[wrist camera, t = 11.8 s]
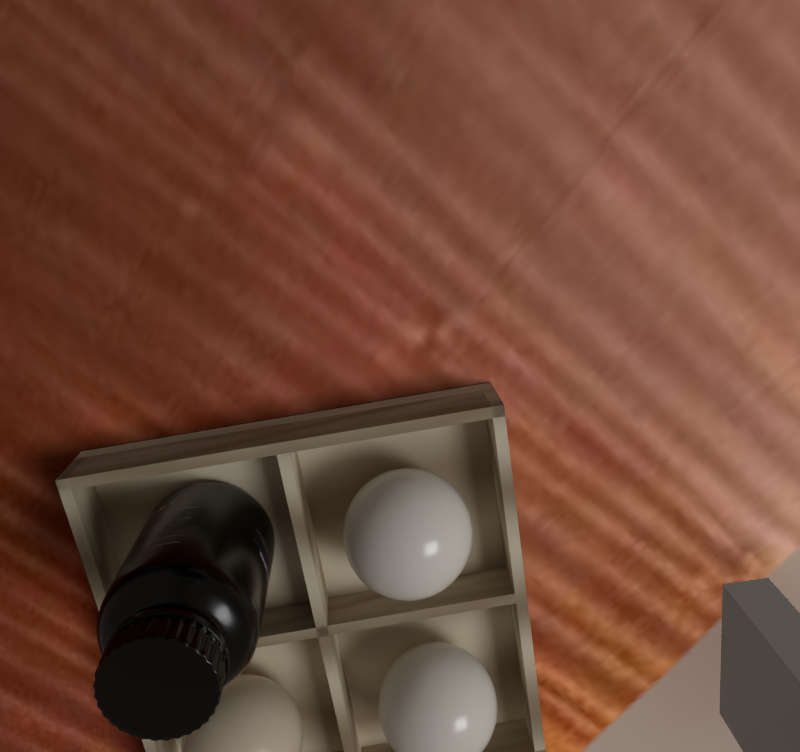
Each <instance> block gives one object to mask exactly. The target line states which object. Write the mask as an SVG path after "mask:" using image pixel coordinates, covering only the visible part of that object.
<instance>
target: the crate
mask: <svg viewBox="0 0 800 752" xmlns="http://www.w3.org/2000/svg"><path fill="white" fill-rule="evenodd" d="M402 468H414V469H421V470H424V471H428V472H430V473H433V474H435V475H437V476H439V477H440V478H442V479H444V480H445V481H447V482H448V483H449V484H450V485H451V486H452V487H453V488H454V489H455V490H456V491H457V492H458V493H459V495H460V496H461V497H462V499H463V501H464V503H465V505H466V507H467V509H468V512H469V514H470V518H471V523H472V531H473V537H472V547H471V551H470V555H469V558H468V560H467V563H466V565H465V567H464V569H463V570H462V572H461V573H460V574H459V576H458V577H457V578H456V580H455V581H454V582H453V583H452V584H451V585H449V586H448V587H447V588H446V589H444V590H443V591H441V592H439V593H437V594H435V595H433V596H431V597H428V598H425V599H421V600H414V601H402V600H395V599H391V598H388V597H385V596H382V595H380V594H378V593H376V592H375V591H373V590H372V589H370V588H369V587H368V586H366V585H365V584H364V583H363V582H362V581H361V580H360V579H359V577H358V576H357V575H356V574H355V572H354V571H353V569H352V567H351V565H350V563H349V561H348V559H347V556H346V553H345V549H344V542H343V527H344V521H345V516H346V513H347V510H348V508H349V506H350V504H351V502H352V500H353V498H354V497H355V495H356V494H357V493H358V491H359V490H360V489H361V488H362V487H363V486H364V485H365V484H366V483H368V482H369V481H370V480H372V479H373V478H375V477H376V476H378V475H380V474H382V473H385V472H388V471H391V470H395V469H402ZM55 482H56V485H57V488H58V491H59V494H60V497H61V500H62V503H63V506H64V509H65V512H66V515H67V518H68V521H69V524H70V527H71V530H72V533H73V536H74V539H75V542H76V545H77V548H78V551H79V554H80V557H81V560H82V563H83V566H84V569H85V572H86V575H87V578H88V581H89V584H90V587H91V590H92V593H93V596H94V599H95V602H96V605H97V608H98V611H99V610H100V607H101V604H102V602H103V600H104V597H105V595H106V593H107V591H108V589H109V588H110V586H111V584H112V582H113V580H114V578H115V577H116V575H117V573H118V571H119V569H120V568H121V566H122V564H123V562H124V560H125V559H126V557H127V555H128V553H129V551H130V550H131V548H132V546H133V544H134V542H135V541H136V539H137V537H138V535H139V533H140V532H141V530H142V528H143V526H144V525H145V523H146V521H147V519H148V518H149V516H150V515H151V513H152V511H153V510H154V508H155V507H156V506H157V505H158V503H159V502H160V501H161V500H162V499H163V498H165V497H166V496H167V495H168V494H170V493H171V492H173V491H175V490H177V489H179V488H181V487H183V486H186V485H189V484H193V483H199V482H219V483H224V484H228V485H232V486H234V487H237V488H239V489H241V490H243V491H245V492H246V493H248V494H249V495H251V496H252V497H253V498H255V499H256V500H257V501H258V502H259V503H260V504H261V506H262V507H263V508H264V509H265V511H266V512H267V514H268V516H269V518H270V520H271V523H272V526H273V529H274V534H275V550H274V557H273V563H272V569H271V574H270V580H269V585H268V591H267V596H266V602H265V607H264V613H263V618H262V624H261V629H260V635H259V639H258V643H257V646H256V650H255V652H254V655H253V657H252V659H251V660H250V662H249V664H248V665H247V667H246V668H245V669H244V671H243V672H242V673H241V674H240V675H244V674H252V675H259V676H263V677H266V678H269V679H271V680H273V681H275V682H276V683H278V684H279V685H281V686H282V687H283V688H284V689H285V690H286V691H287V692H288V693H289V694H290V696H291V697H292V698H293V700H294V701H295V703H296V705H297V707H298V710H299V712H300V715H301V719H302V725H303V744H302V750H301V752H395V751H394V750H393V748H392V747H391V746H390V744H389V743H388V741H387V739H386V737H385V735H384V733H383V730H382V727H381V723H380V719H379V711H378V703H379V693H380V688H381V685H382V682H383V679H384V677H385V675H386V673H387V671H388V669H389V668H390V667H391V665H392V664H393V663H394V661H395V660H396V659H397V658H398V657H399V656H400V655H402V654H403V653H404V652H406V651H407V650H409V649H410V648H413V647H415V646H417V645H420V644H423V643H428V642H445V643H449V644H453V645H456V646H459V647H461V648H463V649H465V650H466V651H468V652H469V653H470V654H472V655H473V656H474V657H475V658H477V659H478V661H479V662H480V663H481V664H482V665H483V666H484V668H485V669H486V671H487V673H488V674H489V676H490V678H491V680H492V683H493V686H494V688H495V693H496V698H497V719H496V724H495V728H494V731H493V734H492V736H491V739H490V741H489V743H488V744H487V746H486V747H485V749H484V750H483V751H482V752H545V744H544V736H543V727H542V719H541V711H540V702H539V694H538V686H537V677H536V669H535V661H534V652H533V644H532V636H531V627H530V619H529V611H528V602H527V594H526V586H525V577H524V569H523V561H522V552H521V544H520V536H519V527H518V519H517V511H516V503H515V494H514V486H513V478H512V469H511V461H510V453H509V444H508V436H507V428H506V419H505V411H504V404H503V403H502V401H501V399H500V397H499V396H498V394H497V392H496V391H495V389H494V387H493V385H492V384H491V382H490V383H484V384H478V385H472V386H466V387H461V388H455V389H449V390H443V391H437V392H431V393H425V394H419V395H413V396H407V397H401V398H395V399H389V400H383V401H377V402H372V403H366V404H360V405H354V406H348V407H342V408H336V409H330V410H324V411H318V412H312V413H306V414H300V415H294V416H288V417H283V418H277V419H271V420H265V421H259V422H253V423H247V424H241V425H235V426H229V427H223V428H217V429H211V430H205V431H200V432H194V433H188V434H182V435H176V436H170V437H164V438H158V439H152V440H146V441H140V442H134V443H128V444H122V445H116V446H111V447H105V448H99V449H93V450H87V451H81V452H80V453H79V454H78V456H77V457H76V458H75V459H74V460H73V461H72V462H71V463H70V464H69V466H68V467H67V468H66V469H65V470H64V471H63V472H62V473H61V474H60V476H59V477H58V478H57V479H56V480H55ZM142 742H143V745H144V748H145V751H146V752H181V742H182V737H181V738H179V739H170V740H168V741H164V740H158V741H152V740H150V739H144V740H142Z"/></svg>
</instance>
